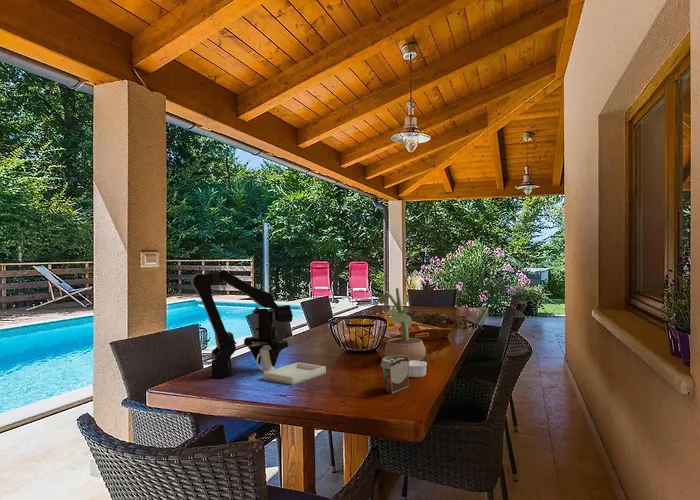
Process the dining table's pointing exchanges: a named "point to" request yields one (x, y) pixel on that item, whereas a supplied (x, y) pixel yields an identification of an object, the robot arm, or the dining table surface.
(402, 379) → the food container
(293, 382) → the tray
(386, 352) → the potted plant
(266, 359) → the cup
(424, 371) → the ramekin
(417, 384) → the dining table surface
